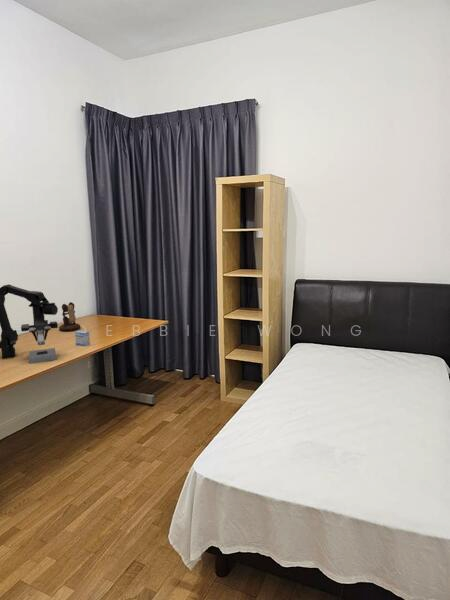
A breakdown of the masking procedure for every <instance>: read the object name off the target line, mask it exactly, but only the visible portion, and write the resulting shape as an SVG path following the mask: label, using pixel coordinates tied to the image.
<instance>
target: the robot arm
mask: <svg viewBox="0 0 450 600" xmlns="http://www.w3.org/2000/svg"><path fill="white" fill-rule="evenodd" d="M8 294H10V295H12V296H13V295H14V296H17V297H20V298H24V299H26V301H27V302H30V304H29V305H28V307H29V308H32V316H33V317H32V318H33V324H32V325H30V324H29V323H26V324H21V325H20V326H21V327H20V329H21V330H20V331H21V332H28V333H32V336H33V337H34V339H35V341H36V342H37V334H36V332H35V330H40V329H42V330H43V329H45V331H44V337H45V341H47V337H48V333H49V331H51V330H52V329H59V327H58V325H59V324H58V321H49V320H48V319H46V318H45V316H46V315H47V316H48V315H50V316H56V315H57V314H58V311H59V308H58V306H57V305H56V303H55V302H50V301H49V300H48V299H47V298H46V296H45V294H44V293H43V292H42V291H35V290H27V289H25V288H21V287H19V286H14V285H12V284H5V285H2V286H1V287H0V329H1V333H0V349H1V359H8V358H9V359H10V358H14V357H15V356H16V347H15V345H16V344H17V342H18V339H19V334H18V330H16V329H13V328H12V326H11V322H10V320H9V316H8V314H7V310H6V307H5V306H6V305H5V303H6V295H8Z"/></svg>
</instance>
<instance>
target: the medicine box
mask: <svg viewBox="0 0 450 600" xmlns="http://www.w3.org/2000/svg"><path fill="white" fill-rule="evenodd" d="M74 337H75V340H74V341H75V346H79V347H81V346H82V347H87V346H89V345H91V341H90V332H89V331H86V330H85V331H84V330H77V331H74Z"/></svg>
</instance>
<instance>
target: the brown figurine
mask: <svg viewBox="0 0 450 600" xmlns="http://www.w3.org/2000/svg"><path fill="white" fill-rule="evenodd" d="M75 306H76V305H75V303H73V302H71V301H70V302H68V305H67V303H63V304H62V305H61V309H62V316H63V317H62V322H63V324H61V325H59V327H58V329H59V331H69V332H71V331H72V330H77V329H79V328H80V329H81V324H79V323H77V322H76V319H77V318H76V315H75V313H76V310H75ZM67 315H68V316H67Z"/></svg>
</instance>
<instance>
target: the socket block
mask: <svg viewBox="0 0 450 600" xmlns="http://www.w3.org/2000/svg"><path fill="white" fill-rule="evenodd" d="M56 360H57V353H56V348H55V347H52V348H46V349H45V348H43V349H38V350H37V349H36V350H30V351H28V364H35V363H42V362H50V361H56Z"/></svg>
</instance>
